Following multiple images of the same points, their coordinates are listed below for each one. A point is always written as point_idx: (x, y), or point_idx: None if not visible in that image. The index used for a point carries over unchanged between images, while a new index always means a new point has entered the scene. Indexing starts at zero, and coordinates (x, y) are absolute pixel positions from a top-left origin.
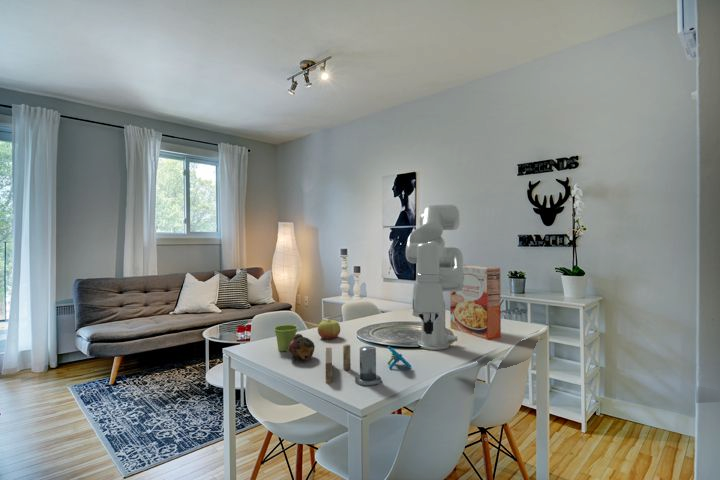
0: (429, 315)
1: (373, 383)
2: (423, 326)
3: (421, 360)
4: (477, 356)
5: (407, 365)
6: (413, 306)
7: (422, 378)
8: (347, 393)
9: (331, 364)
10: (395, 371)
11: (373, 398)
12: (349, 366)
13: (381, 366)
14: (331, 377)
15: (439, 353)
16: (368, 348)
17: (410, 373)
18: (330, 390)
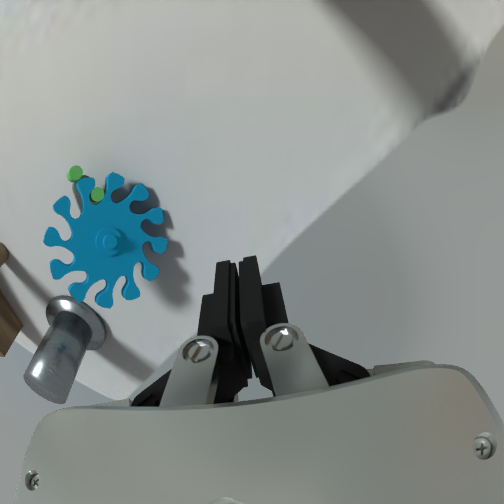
0: (271, 379)
1: (97, 347)
2: (200, 313)
3: (211, 114)
4: (455, 78)
5: (151, 248)
6: (30, 446)
7: None
8: None
9: (5, 353)
10: None
11: (124, 384)
12: (3, 262)
13: None
14: (17, 333)
15: (313, 11)
16: (45, 389)
17: (171, 269)
18: None
